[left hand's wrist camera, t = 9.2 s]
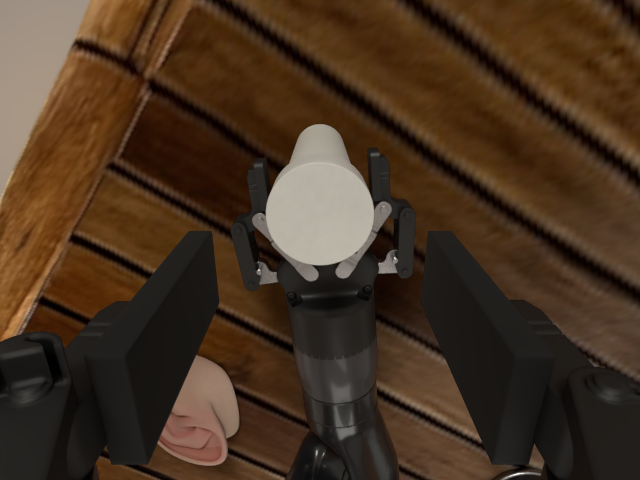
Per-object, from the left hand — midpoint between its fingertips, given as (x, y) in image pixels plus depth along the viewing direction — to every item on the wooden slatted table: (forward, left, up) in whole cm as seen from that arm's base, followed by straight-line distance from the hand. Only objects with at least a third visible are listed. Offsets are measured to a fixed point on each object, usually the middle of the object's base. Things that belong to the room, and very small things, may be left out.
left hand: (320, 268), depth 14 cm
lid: (0, 0, -6) cm, 6 cm away
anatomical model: (-1, +32, -24) cm, 40 cm away
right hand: (+1, 0, -18) cm, 18 cm away
